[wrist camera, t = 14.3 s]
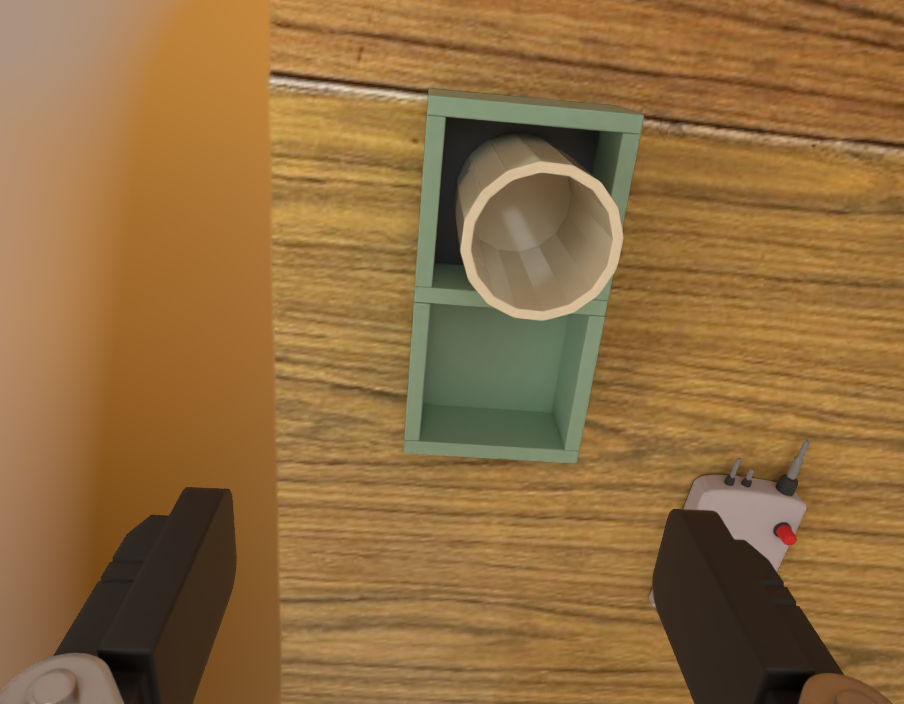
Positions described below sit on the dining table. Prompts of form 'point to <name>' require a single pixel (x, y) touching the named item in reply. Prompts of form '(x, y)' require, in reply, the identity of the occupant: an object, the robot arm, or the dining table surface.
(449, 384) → the holder
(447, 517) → the dining table surface
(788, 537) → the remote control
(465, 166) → the cup
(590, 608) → the dining table surface
